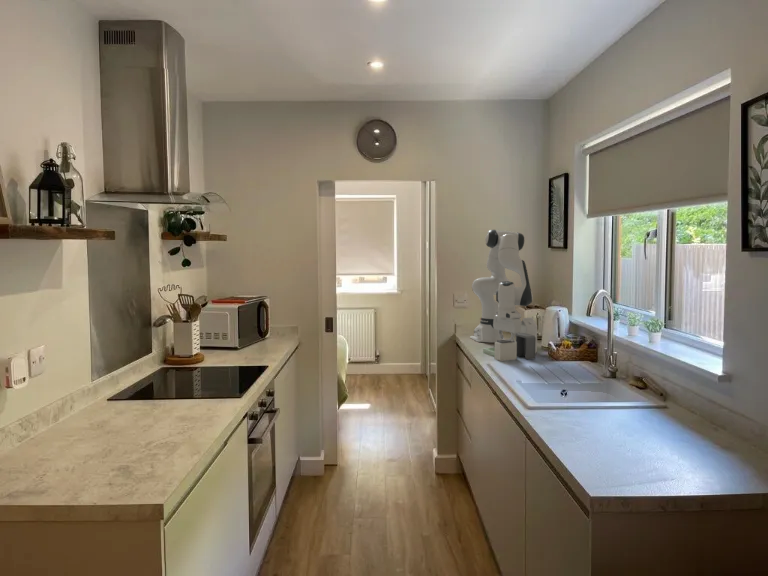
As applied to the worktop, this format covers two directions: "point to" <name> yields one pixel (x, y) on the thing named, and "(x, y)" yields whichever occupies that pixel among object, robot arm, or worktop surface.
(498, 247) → the robot arm
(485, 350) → the tray
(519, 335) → the open-top grey box
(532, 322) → the milk carton
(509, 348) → the cream box grey panel
